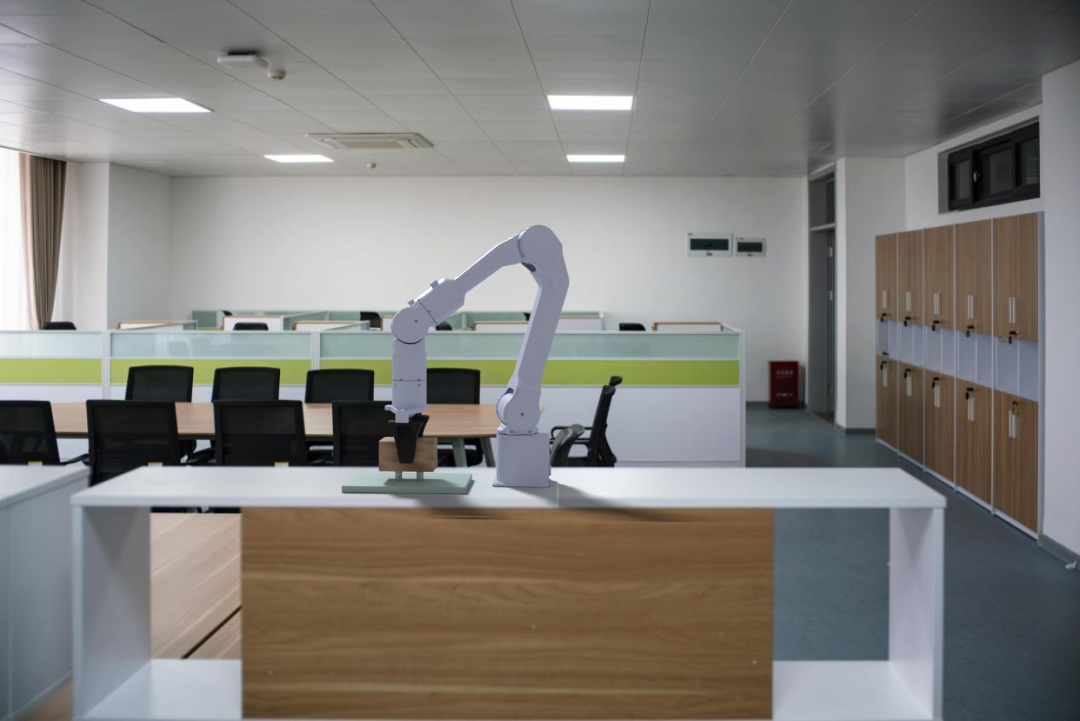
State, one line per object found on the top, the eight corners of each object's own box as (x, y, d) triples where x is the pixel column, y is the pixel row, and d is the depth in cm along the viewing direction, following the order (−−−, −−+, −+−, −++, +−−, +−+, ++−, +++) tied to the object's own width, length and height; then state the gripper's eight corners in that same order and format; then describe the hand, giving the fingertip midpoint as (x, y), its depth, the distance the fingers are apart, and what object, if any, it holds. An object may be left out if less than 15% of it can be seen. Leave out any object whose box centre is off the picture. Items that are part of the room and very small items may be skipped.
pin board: (472, 479, 156) (472, 459, 155) (464, 493, 144) (464, 472, 143) (358, 477, 156) (358, 458, 156) (341, 491, 144) (341, 470, 144)
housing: (437, 466, 152) (437, 437, 152) (433, 472, 147) (433, 442, 147) (384, 466, 152) (384, 437, 152) (378, 471, 147) (378, 441, 147)
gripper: (393, 376, 156) (393, 452, 157) (376, 383, 142) (376, 467, 142) (433, 376, 156) (433, 453, 157) (420, 383, 141) (420, 468, 142)
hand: (409, 460), depth 150 cm, fingers closed on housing, 5 cm apart
